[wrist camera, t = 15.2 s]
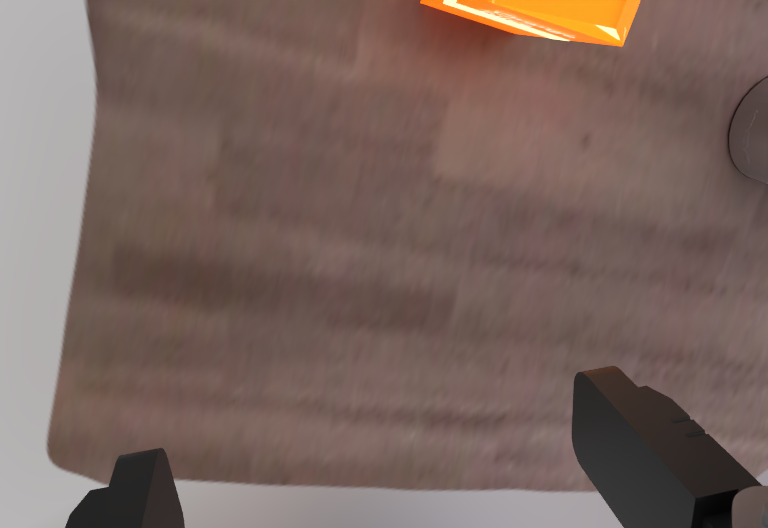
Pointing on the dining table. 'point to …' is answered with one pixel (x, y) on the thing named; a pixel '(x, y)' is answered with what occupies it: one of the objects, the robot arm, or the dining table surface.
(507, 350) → the dining table surface
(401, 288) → the dining table surface
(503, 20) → the orange juice
